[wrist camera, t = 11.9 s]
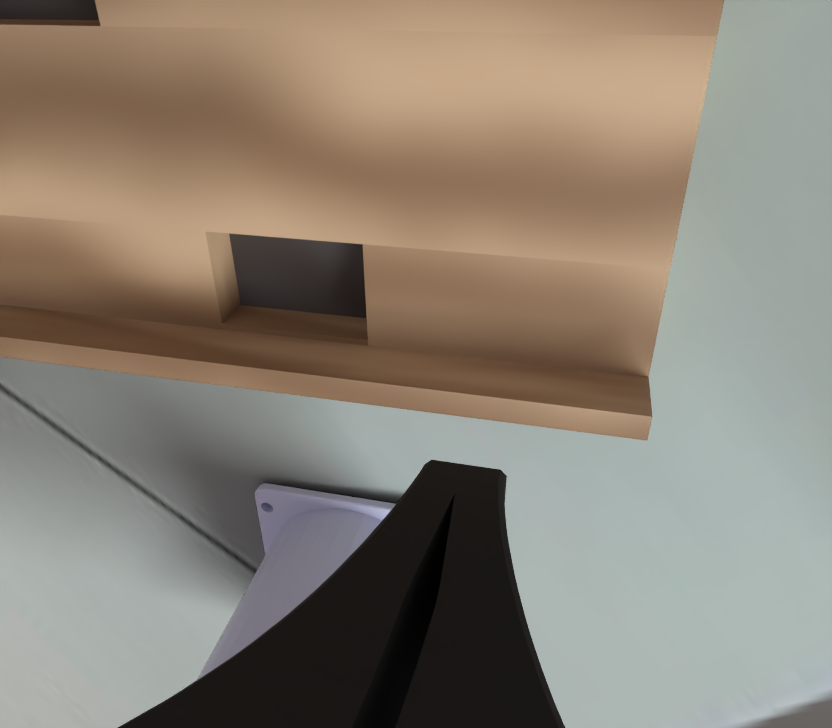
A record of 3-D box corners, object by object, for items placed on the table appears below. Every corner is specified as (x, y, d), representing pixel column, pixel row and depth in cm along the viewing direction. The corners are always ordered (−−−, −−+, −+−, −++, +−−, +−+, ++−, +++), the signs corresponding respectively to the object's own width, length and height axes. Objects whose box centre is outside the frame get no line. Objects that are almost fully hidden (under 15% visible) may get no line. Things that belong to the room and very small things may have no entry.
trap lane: (641, 373, 22) (647, 447, 18) (-113, 289, 27) (-206, 335, 24) (752, -196, 14) (793, -233, 11) (-313, -146, 20) (-484, -162, 17)
